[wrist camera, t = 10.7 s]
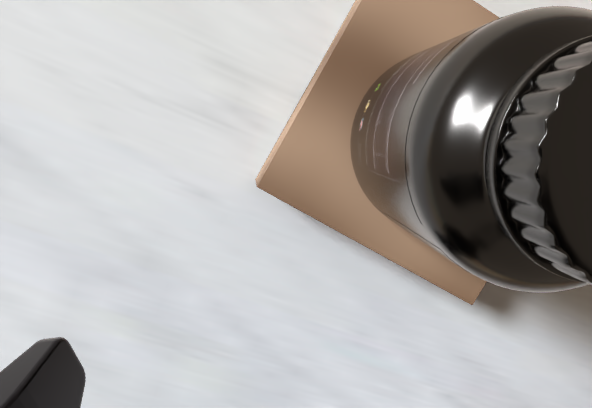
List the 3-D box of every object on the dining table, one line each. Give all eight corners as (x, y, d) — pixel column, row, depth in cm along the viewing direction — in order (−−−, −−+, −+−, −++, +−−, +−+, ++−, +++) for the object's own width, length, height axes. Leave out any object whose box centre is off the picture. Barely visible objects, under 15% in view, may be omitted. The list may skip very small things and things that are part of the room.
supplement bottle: (547, 92, 21) (927, 62, 9) (473, 253, 22) (742, 410, 10) (388, 19, 20) (591, -117, 8) (316, 190, 21) (413, 285, 9)
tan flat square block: (449, 286, 25) (472, 305, 22) (255, 179, 23) (256, 186, 21) (568, 90, 24) (606, 87, 21) (375, -35, 22) (391, -54, 20)
